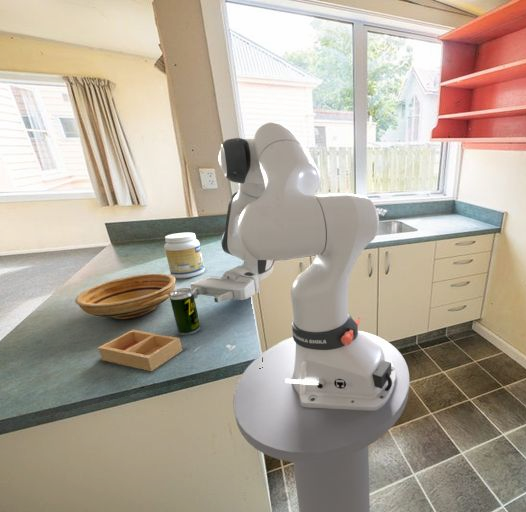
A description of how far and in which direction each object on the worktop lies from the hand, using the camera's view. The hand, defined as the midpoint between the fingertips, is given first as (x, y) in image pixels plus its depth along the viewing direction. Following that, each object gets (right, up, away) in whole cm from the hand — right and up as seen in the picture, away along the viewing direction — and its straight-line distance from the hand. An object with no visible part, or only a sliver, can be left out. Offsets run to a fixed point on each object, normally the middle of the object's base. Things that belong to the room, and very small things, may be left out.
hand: (203, 298), depth 87 cm
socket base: (-6, -12, -14) cm, 20 cm away
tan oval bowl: (-27, -5, +8) cm, 28 cm away
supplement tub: (-30, +5, +38) cm, 48 cm away
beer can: (-2, -9, -3) cm, 10 cm away
